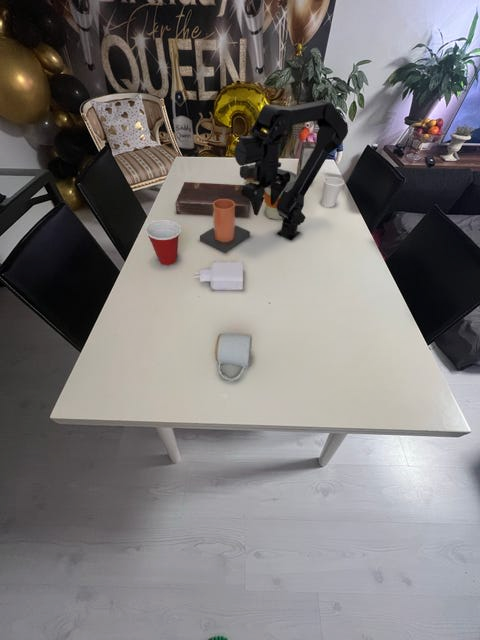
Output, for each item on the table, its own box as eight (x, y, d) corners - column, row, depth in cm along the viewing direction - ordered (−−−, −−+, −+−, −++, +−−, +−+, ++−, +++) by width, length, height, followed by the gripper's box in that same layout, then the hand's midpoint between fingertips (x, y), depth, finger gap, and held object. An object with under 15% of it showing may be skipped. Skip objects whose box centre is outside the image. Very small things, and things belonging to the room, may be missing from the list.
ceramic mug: (219, 344, 76) (218, 324, 70) (251, 347, 76) (253, 328, 70) (212, 380, 69) (210, 362, 63) (247, 384, 69) (248, 366, 63)
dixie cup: (339, 208, 127) (346, 185, 119) (319, 208, 127) (325, 184, 119) (335, 199, 132) (341, 176, 125) (316, 199, 132) (321, 175, 125)
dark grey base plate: (225, 224, 116) (224, 215, 113) (250, 236, 111) (251, 226, 108) (199, 240, 108) (198, 230, 105) (225, 253, 103) (225, 243, 100)
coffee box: (311, 185, 141) (318, 148, 130) (297, 185, 141) (303, 148, 130) (308, 177, 148) (315, 141, 136) (295, 177, 148) (301, 141, 136)
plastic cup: (178, 272, 95) (173, 239, 86) (147, 267, 97) (138, 234, 88) (189, 253, 103) (185, 221, 94) (159, 248, 104) (153, 216, 95)
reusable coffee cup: (257, 217, 120) (260, 179, 109) (266, 204, 128) (270, 167, 117) (287, 224, 117) (294, 185, 106) (295, 209, 125) (301, 172, 114)
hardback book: (176, 214, 120) (175, 202, 117) (185, 193, 133) (184, 181, 129) (248, 218, 119) (248, 206, 116) (250, 196, 132) (251, 185, 128)
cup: (238, 234, 107) (238, 202, 98) (227, 244, 103) (227, 211, 94) (221, 229, 109) (220, 197, 101) (210, 238, 105) (208, 205, 96)
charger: (195, 271, 96) (242, 272, 96) (193, 290, 90) (242, 291, 90) (194, 259, 92) (242, 260, 93) (191, 278, 86) (243, 279, 86)
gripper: (264, 144, 95) (261, 192, 106) (226, 160, 84) (227, 212, 96) (294, 153, 90) (287, 202, 102) (258, 171, 80) (254, 224, 91)
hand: (264, 209), depth 98 cm, fingers open, 9 cm apart
